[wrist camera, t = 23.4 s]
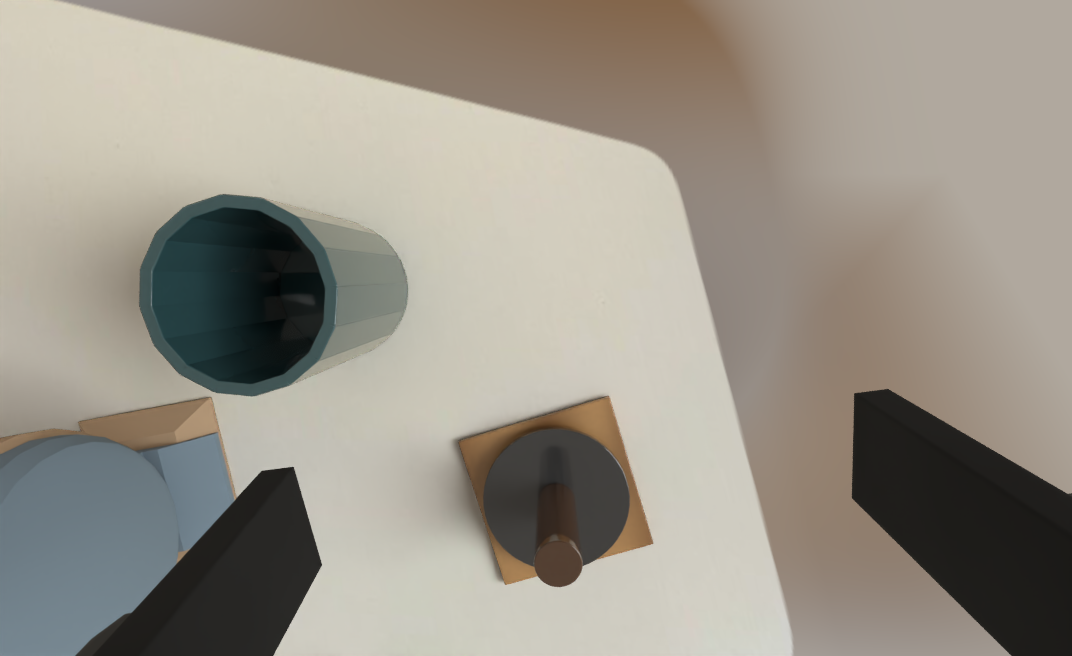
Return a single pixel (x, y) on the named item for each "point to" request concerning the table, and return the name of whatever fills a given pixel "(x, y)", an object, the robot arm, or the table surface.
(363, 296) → the jar
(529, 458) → the lid
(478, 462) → the mat
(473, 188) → the table surface
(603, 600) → the table surface
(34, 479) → the alarm clock
